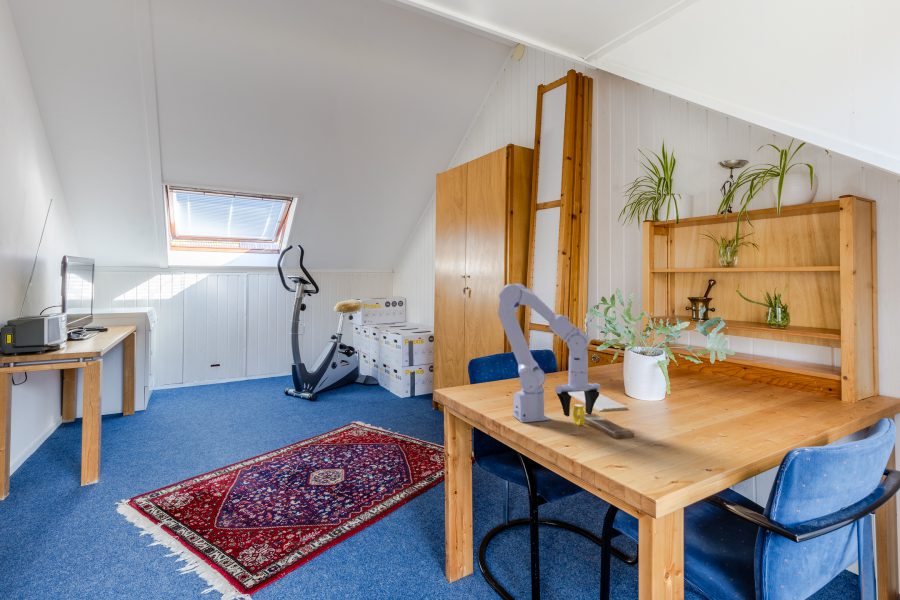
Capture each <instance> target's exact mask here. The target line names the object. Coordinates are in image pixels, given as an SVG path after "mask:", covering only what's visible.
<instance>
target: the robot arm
mask: <svg viewBox="0 0 900 600" xmlns="http://www.w3.org/2000/svg"><path fill="white" fill-rule="evenodd" d="M498 297H499V300H498V301H499V302H498V311H497V314H498V318H499V320H500V322H501V324H502V325H501V326H502V327H503V330H504V333H505V335H506V338H507V340H508V343H509V345H510V347H511V350H512V352H513V355H514V357H515V360H516V362H517V364H518V365H517V366H518V367H517V370H518V371H517V372H518V376H519V385H520V387H521V389H520V391H516V392H514V394H513V398H512V399H513V410H512V411H513V413H512V417H514V418H515V419H517V420H518V421H519V422H521V423H531V422H541V421H542V422H543V421H550V418H549V417H547V416H546V415H545V388H544V386H543V385H544V384H545V383H546V373H545V372H544V370H543V369H541V368H540V366H539V364H538V362H537V361H536V360H535V359H534V357H533V354H532V353H531V349H530V347H529V346H528V342H527V340H526V338H525V335H524V333H523V330H522V328H521V326H520V323H519V321H518V319H517V315H516V313H517V311H518V309H519V306H521V305H522V306H528V307H530V308H532V309H533V310H534V311H535V312H536V313H537V314H538V315H540V316H541V317H542V318H544V320H546V322H547V323H548V326H549V329H550V330H551V331H552V332H553V333H554V334H555V335H556V336H557V337H559V338H560V339H561V340H562V341H563V342H565V343H566V344H567V345H566V346H567V348H568V350H569V353H568V383H566V384H560V385H555V390H554V392H555V393H556V396H557V397H558V399H559V401H560V404H561V408H562V411H563V415H564V416H565V417H570V413H571V412H570V411H571V400H572V398H573V397H572V396H570V395H569V393H568V392H579V391H584V394H585V401H586V404H585V414H589V415H590V414H593V410H594V408H593V406H594V404H595V401H596V400H597V398H598V396H599V394H600V392H599V391H601V384H599V383H596V382H593V383H590V382H588V380H589V379H588V377H589V357H588V354H589V353H588V348H587V347H588V346H589V344H590V338H589V336H588V334H586V332H584V331H581V328H580V327H577V326H575V324H573V323H572V322H571V321H570V318H569V316H567V315H565V316H564V315H563V314H556V313H555V312H554V311H553V310H552V309H551V308H550V307H549V306H548V305H547V304H546V303H545V302H544V301H542V300H541V299H540V298H539V296H537V294H535V293H534V292H533V291H532V290H531V289H529V288H527V287H526V286H525V285H524V284H523V283H507V284H505V285H504V286H503V287H502V289H501V291H500V293H499V295H498Z"/></svg>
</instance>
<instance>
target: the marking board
mask: <svg viewBox="0 0 900 600" xmlns="http://www.w3.org/2000/svg"><path fill="white" fill-rule="evenodd" d="M584 414H585V421H584V423H586V424H588V425H590V427H591V426H592V427H593V428H595V429H597V430H599V431H600V432H602V433H604V434H606V435H608V436H609V437H611V438H613V439H614V440H619V439H628V438H635V433H634V432H632V431H629V430H628V429H626V428H624V427H622V426H620V425H619V424H617V423H614V422H612V421H610V420H608V419H606V418H604V417H602V416H600V415H599V414H596V413H593V412H592V413H591V414H590V415H589V414H587V413H584ZM577 415H578V420H580V414H577Z"/></svg>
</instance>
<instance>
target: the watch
mask: <svg viewBox="0 0 900 600" xmlns="http://www.w3.org/2000/svg"><path fill="white" fill-rule="evenodd" d="M578 413H579V414H578ZM585 414H586V413H585V411H584V405H583V404H574V405H573V410H572V417H573V421H574V423H575V424H576V425H577V426H582V427H583V426H584V424H585V422H584V421H585ZM578 415H580V419H579V418H578Z"/></svg>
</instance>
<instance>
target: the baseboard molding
mask: <svg viewBox="0 0 900 600" xmlns="http://www.w3.org/2000/svg"><path fill="white" fill-rule="evenodd" d="M568 393H569V395H570V396H572V397H571V398H574V399H576V400H578V401H579V402H582V403H583V404H585V405H586V401H585V394H584V391H579V392H568ZM593 410H595V411H597V412H612V411H613V412H614V411H626V410H628V407H627V406H626V405H623V404H622V403H619V402H618V401H615V400H614V399H612V398H610V397H608V396H605V395H604V394H601V393H599V396H598V398H597V400H596V401H595V404H594V406H593Z"/></svg>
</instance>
